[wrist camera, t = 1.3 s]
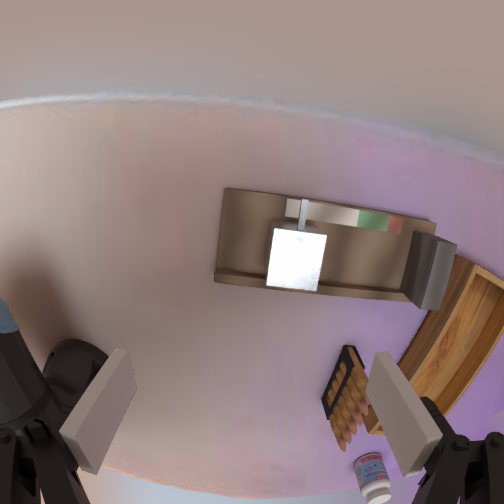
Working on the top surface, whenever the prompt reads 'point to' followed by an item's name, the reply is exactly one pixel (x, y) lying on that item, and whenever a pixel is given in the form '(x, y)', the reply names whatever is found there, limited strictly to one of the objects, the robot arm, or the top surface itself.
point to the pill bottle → (372, 478)
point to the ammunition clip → (346, 396)
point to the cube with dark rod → (294, 253)
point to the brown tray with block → (338, 249)
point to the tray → (453, 339)
